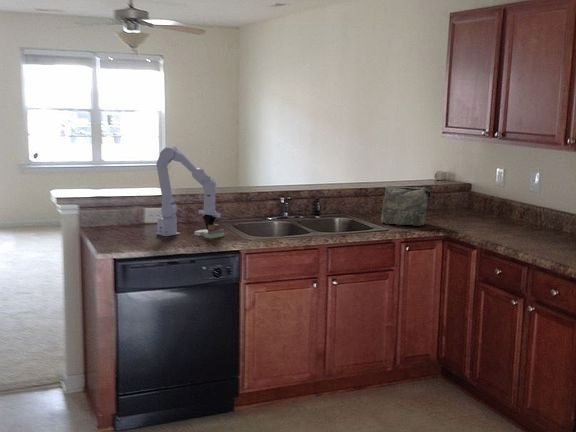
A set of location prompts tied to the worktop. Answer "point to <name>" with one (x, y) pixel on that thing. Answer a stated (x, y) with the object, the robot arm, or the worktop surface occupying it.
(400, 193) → the lunch bag
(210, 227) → the walnut block
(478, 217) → the worktop surface
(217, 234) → the board
